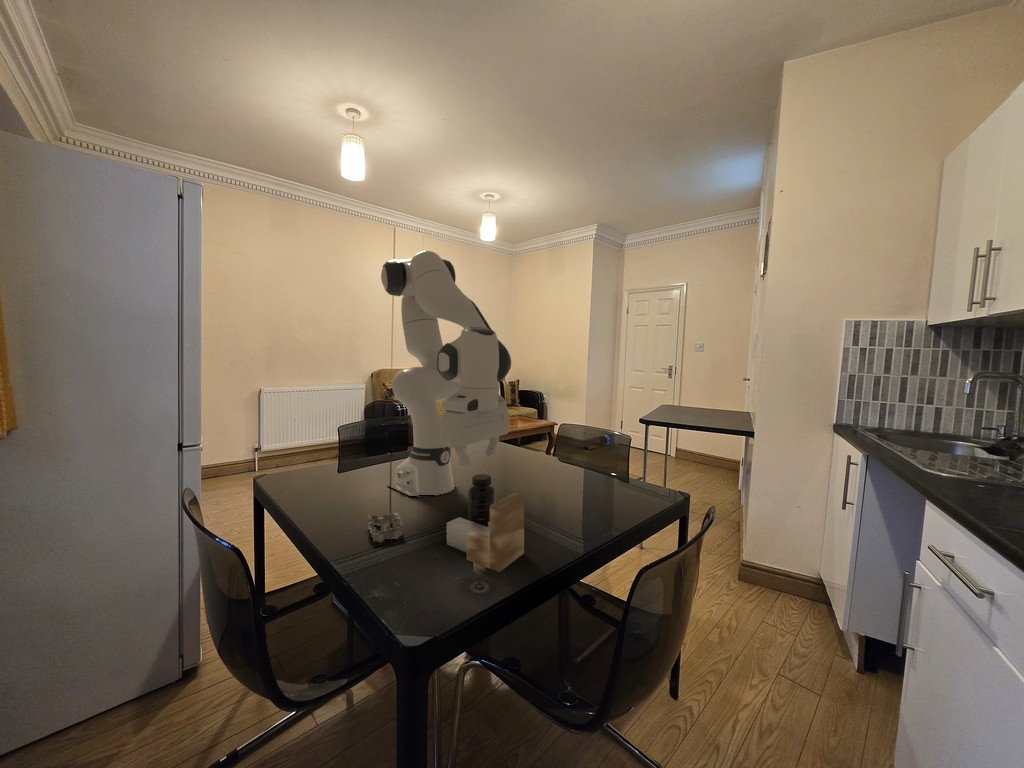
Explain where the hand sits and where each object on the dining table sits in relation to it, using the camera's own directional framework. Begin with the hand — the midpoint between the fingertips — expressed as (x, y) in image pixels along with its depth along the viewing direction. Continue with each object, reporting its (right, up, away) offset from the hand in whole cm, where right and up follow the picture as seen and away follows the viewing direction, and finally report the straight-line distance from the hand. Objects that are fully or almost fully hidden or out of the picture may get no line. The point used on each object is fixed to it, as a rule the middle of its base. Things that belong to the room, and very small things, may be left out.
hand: (477, 459), depth 91 cm
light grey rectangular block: (0, -19, -3) cm, 20 cm away
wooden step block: (+4, -19, -6) cm, 21 cm away
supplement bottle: (0, -18, +11) cm, 22 cm away
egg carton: (-23, -19, +5) cm, 30 cm away
